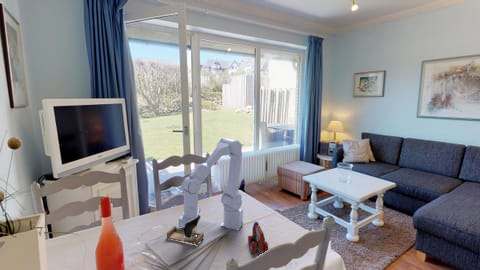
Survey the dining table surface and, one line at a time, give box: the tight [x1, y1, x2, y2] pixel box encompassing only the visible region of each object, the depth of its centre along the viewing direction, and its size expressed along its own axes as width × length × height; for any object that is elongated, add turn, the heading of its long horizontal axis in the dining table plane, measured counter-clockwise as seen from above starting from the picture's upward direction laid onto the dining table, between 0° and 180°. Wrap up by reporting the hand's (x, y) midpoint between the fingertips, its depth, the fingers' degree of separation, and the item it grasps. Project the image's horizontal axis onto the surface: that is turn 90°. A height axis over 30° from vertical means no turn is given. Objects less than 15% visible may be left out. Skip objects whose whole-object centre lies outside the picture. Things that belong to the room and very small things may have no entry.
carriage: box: [184, 225, 197, 242], centre depth 100 cm, size 5×4×5 cm
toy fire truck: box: [247, 221, 269, 254], centre depth 98 cm, size 7×12×10 cm, turn 10°
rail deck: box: [166, 225, 205, 246], centre depth 102 cm, size 15×6×3 cm, turn 72°
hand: (190, 234), depth 100 cm, fingers closed on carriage, 4 cm apart
